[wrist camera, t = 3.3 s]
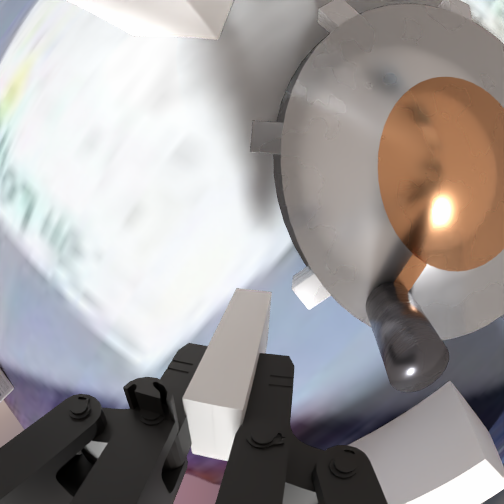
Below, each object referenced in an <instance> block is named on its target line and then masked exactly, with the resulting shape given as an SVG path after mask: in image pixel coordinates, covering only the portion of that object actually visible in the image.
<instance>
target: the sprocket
mask: <svg viewBox="0 0 504 504" xmlns="http://www.w3.org/2000/svg"><path fill="white" fill-rule="evenodd" d="M317 22H318V23H319V24H320V25H321V26H322V27H323V28H324V29H325V30H326V31H327V32H329V33H330V34H329V35H328V36H327V37H326V38H325V39H324V40H323V41H322V42H321V43H320V44H319V45H318V46H317V47H316V49H315V50H314V51H313V53H312V54H311V56H310V57H309V59H308V60H307V61H306V63H305V64H304V66H303V68H302V70H301V72H300V74H299V76H298V78H297V80H296V82H295V85H294V87H293V89H292V93H291V96H290V99H289V102H288V106H287V109H286V113H285V119H284V123H280V122H269V121H255V120H253V123H252V134H251V146H250V152H255V153H267V154H277V155H281V173H282V183H283V193H284V197H285V202H286V206H287V210H288V215H289V219H290V222H291V225H292V228H293V230H294V233H295V236H296V239H297V242H298V244H299V246H300V248H301V250H302V252H303V254H304V256H305V258H306V260H307V262H308V264H309V265H308V266H307V267H305V268H304V269H303V270H301V271H300V272H298V273H297V274H295V275H294V276H293V281H292V290H293V291H294V292H295V294H296V295H297V296H298V297H299V298H300V300H301V301H302V302H303V303H304V304H305V306H306V307H307V308H308V309H309V310H310V309H311V308H313V307H314V306H316V305H317V304H319V303H320V302H322V301H323V300H325V299H327V298H328V297H330V296H332V297H333V298H334V299H335V300H336V301H337V302H338V303H339V304H340V305H341V306H342V307H344V308H345V309H346V310H347V311H348V312H349V313H351V314H352V315H353V316H354V317H356V318H357V319H359V320H360V321H362V322H364V323H365V324H367V325H368V326H370V327H372V330H373V333H374V336H375V338H376V341H377V344H378V347H379V350H380V353H381V356H382V359H383V362H384V365H385V368H386V372H387V375H388V378H389V381H390V384H391V385H392V387H393V388H395V389H396V390H398V391H401V392H414V391H418V390H421V389H423V388H426V387H427V386H429V385H431V384H432V383H433V382H435V381H436V380H437V379H438V378H439V377H440V376H441V375H442V373H443V372H444V370H445V369H446V366H447V364H448V360H449V352H448V349H447V348H446V346H445V345H444V343H443V341H442V340H448V339H453V338H458V337H461V336H464V335H467V334H470V333H473V332H475V331H477V330H479V329H481V328H483V327H485V326H487V325H489V324H490V323H492V322H493V321H495V320H496V319H498V318H499V317H502V318H503V319H504V44H503V43H502V42H501V41H500V40H499V39H498V38H496V37H495V36H494V35H492V34H491V33H490V32H488V31H487V30H486V29H484V28H483V27H481V26H480V25H478V24H476V23H474V22H473V21H472V16H471V11H470V7H469V5H468V4H466V3H464V2H462V1H460V0H443V1H442V2H441V3H440V4H439V5H438V8H437V7H433V6H428V5H420V4H395V5H386V6H382V7H378V8H374V9H371V10H367V11H365V12H363V13H361V14H359V13H358V12H357V11H356V10H355V9H354V8H353V7H351V6H350V5H349V4H348V3H347V2H346V1H345V0H333V1H331V2H329V3H327V4H326V5H324V6H322V7H320V8H319V11H318V20H317Z"/></svg>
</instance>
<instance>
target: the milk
mask: <svg viewBox="0 0 504 504" xmlns="http://www.w3.org/2000/svg"><path fill="white" fill-rule="evenodd" d="M66 1H68V2H70V3H72V4H74V5H77V6H79V7H81V8H83V9H85V10H87V11H89V12H91V13H93V14H95V15H96V16H98V17H100V18H102V19H104V20H106V21H108V22H109V23H111V24H113V25H115V26H117V27H118V28H120V29H122V30H124V31H125V32H127V33H129V34H131V35H132V36H171V37H189V38H202V39H211V40H219V38H220V35H221V32H222V29H223V27H224V24H225V21H226V19H227V16H228V14H229V11H230V9H231V6H232V4H233V1H234V0H66Z"/></svg>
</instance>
